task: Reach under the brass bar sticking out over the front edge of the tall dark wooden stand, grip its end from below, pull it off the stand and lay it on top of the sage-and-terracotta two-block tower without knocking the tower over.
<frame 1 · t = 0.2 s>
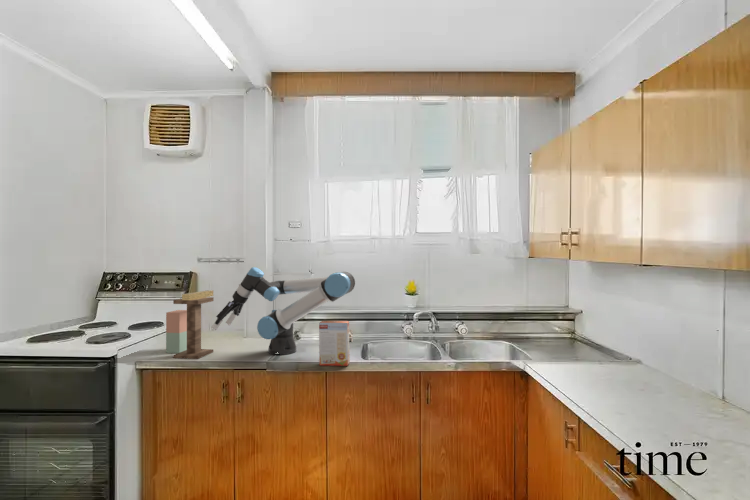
hand: (220, 326, 208), 16 cm above the table, tool tilted 35°, fingers open, 13 cm apart
wooden stand: (193, 354, 209), on the table
brass bar: (198, 297, 213), point 30 cm above the table, touching wooden stand
architectural model: (348, 342, 241), on the table
bottom block: (178, 350, 218), on the table, touching top block
top block: (178, 331, 219), point 11 cm above the table, touching bottom block
cracker box: (334, 364, 191), on the table
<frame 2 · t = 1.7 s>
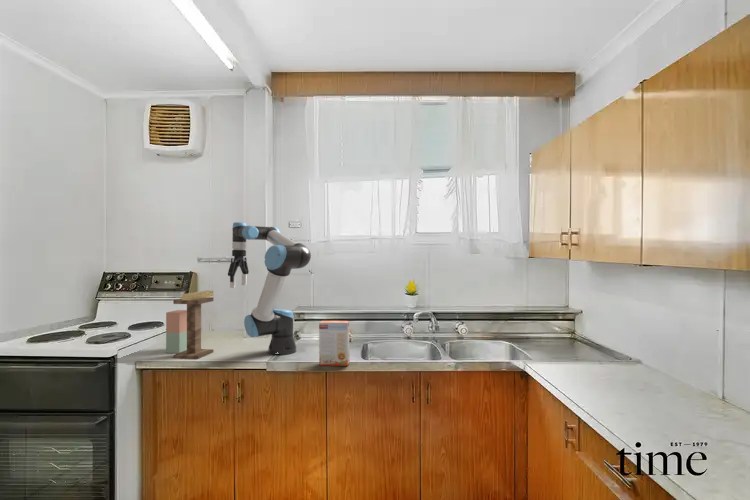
hand: (238, 286, 225), 35 cm above the table, tool pointing down, fingers open, 13 cm apart
nothing on the table moved.
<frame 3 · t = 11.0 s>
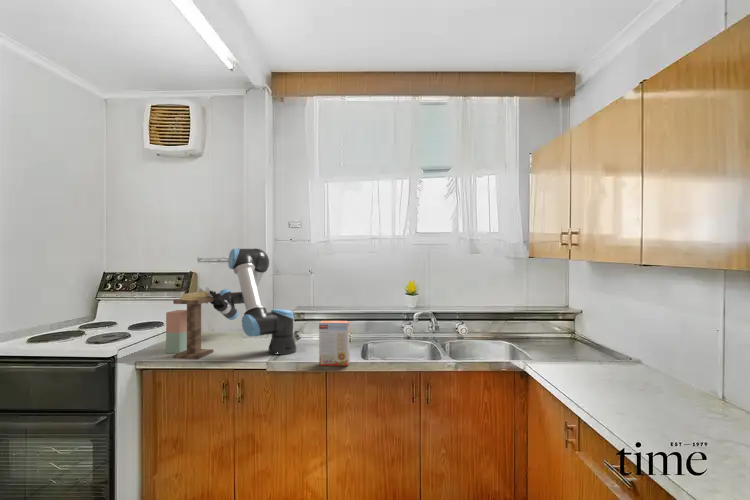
hand: (202, 289, 217), 34 cm above the table, tool pointing upward, fingers closed on brass bar, 4 cm apart
brass bar: (198, 297, 213), point 30 cm above the table, touching gripper, wooden stand
everything else where it was.
when the fingers open (28 cm above the table, at t = 18.8 s): brass bar drops 2 cm, resting on top block.
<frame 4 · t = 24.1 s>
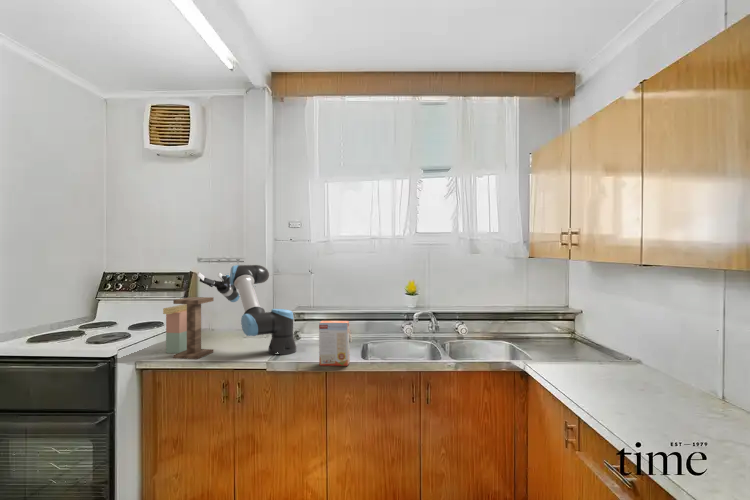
hand: (208, 274, 240), 42 cm above the table, tool pointing upward, fingers open, 13 cm apart
brass bar: (180, 311, 220), point 22 cm above the table, touching top block
top block: (178, 331, 218), point 11 cm above the table, touching bottom block, brass bar
everything else where it was.
at the end: brass bar touching top block; top block point 11.0 cm above the table; the gripper is holding nothing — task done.
